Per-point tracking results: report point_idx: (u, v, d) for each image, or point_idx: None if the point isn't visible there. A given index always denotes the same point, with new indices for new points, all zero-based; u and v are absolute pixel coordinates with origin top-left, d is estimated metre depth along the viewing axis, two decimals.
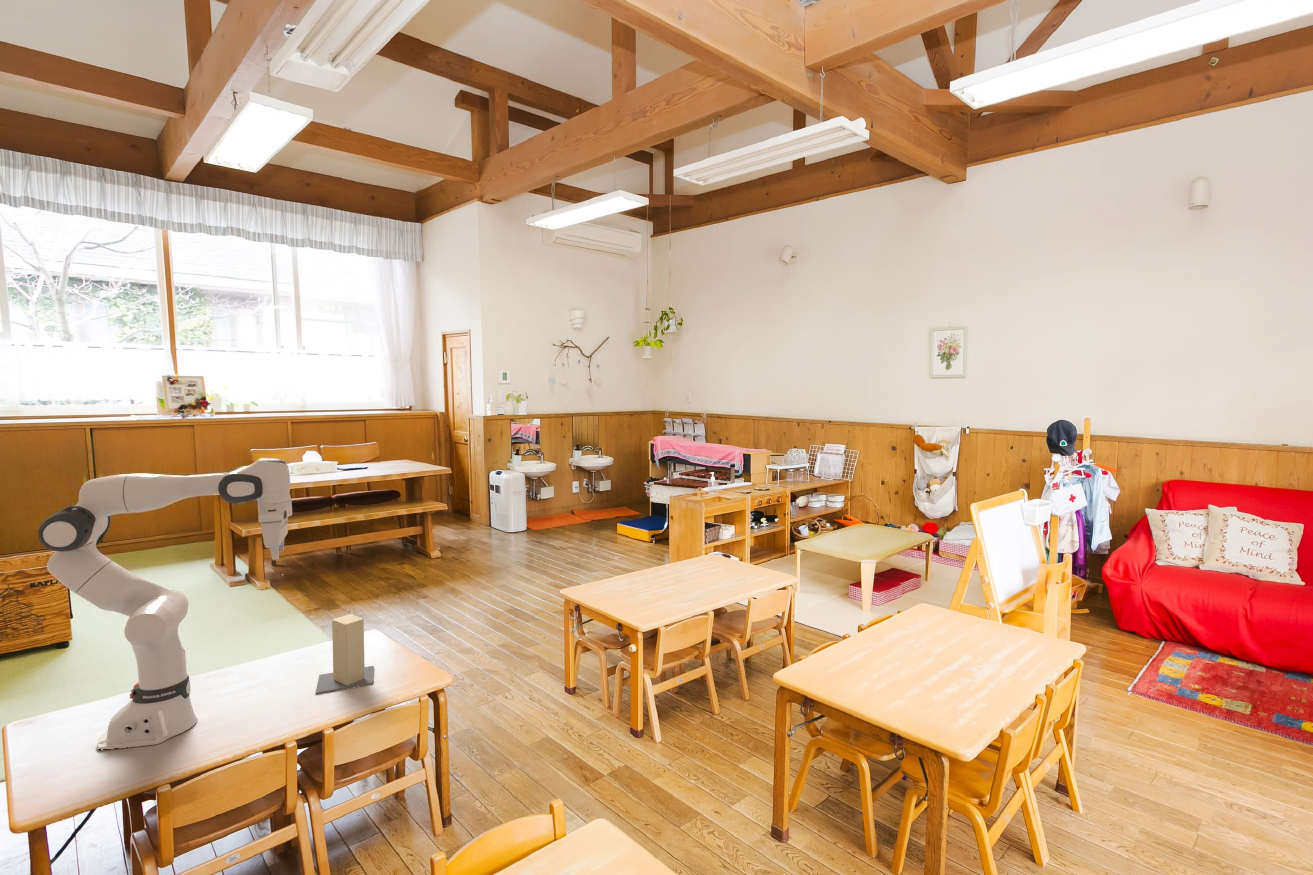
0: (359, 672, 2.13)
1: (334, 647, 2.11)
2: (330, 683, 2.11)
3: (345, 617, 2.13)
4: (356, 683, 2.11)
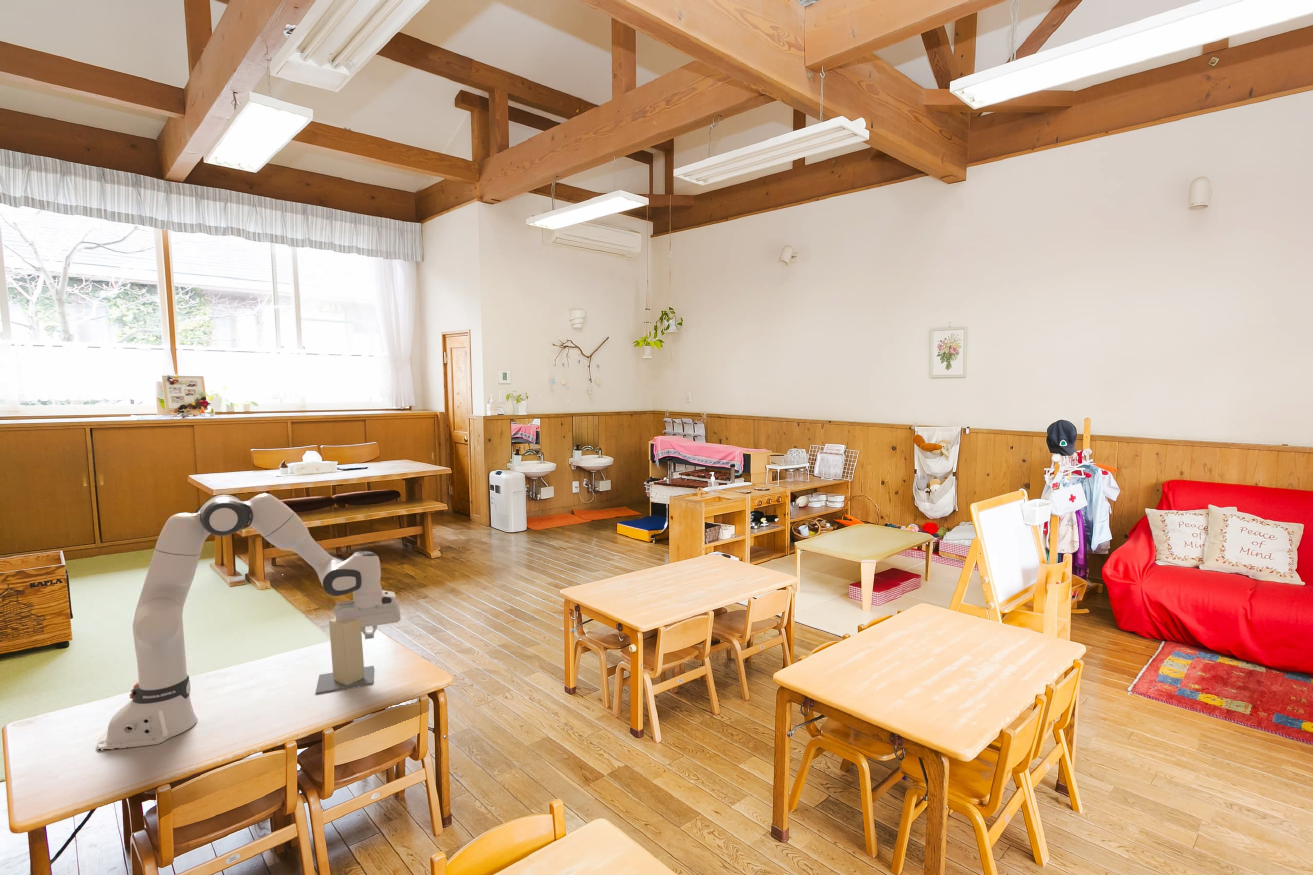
0: (358, 671, 2.13)
1: (332, 648, 2.11)
2: (330, 683, 2.11)
3: None
4: (356, 683, 2.11)
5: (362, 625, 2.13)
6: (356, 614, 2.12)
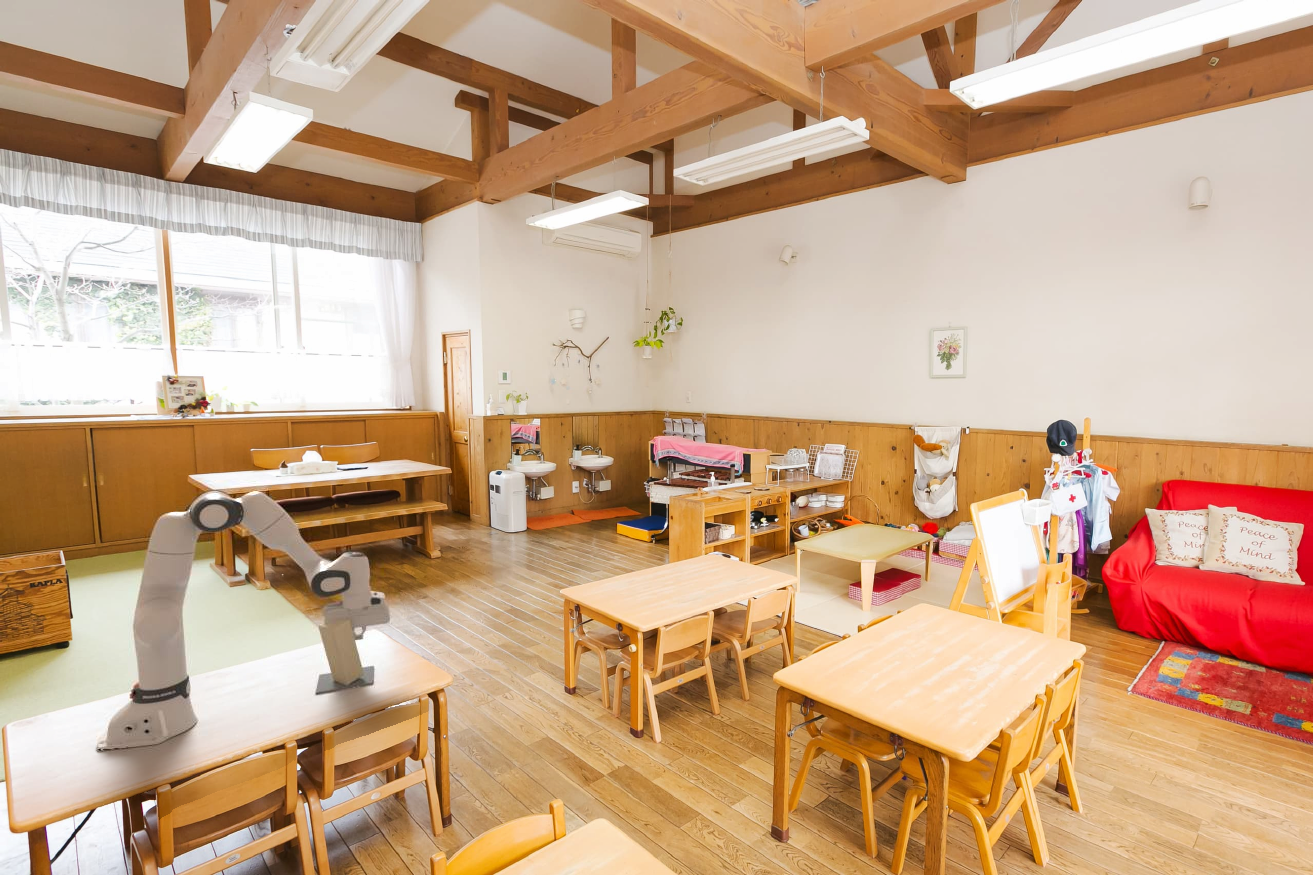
0: (357, 670, 2.12)
1: (326, 651, 2.10)
2: (330, 683, 2.11)
3: None
4: (356, 683, 2.11)
5: (351, 626, 2.11)
6: (345, 615, 2.11)
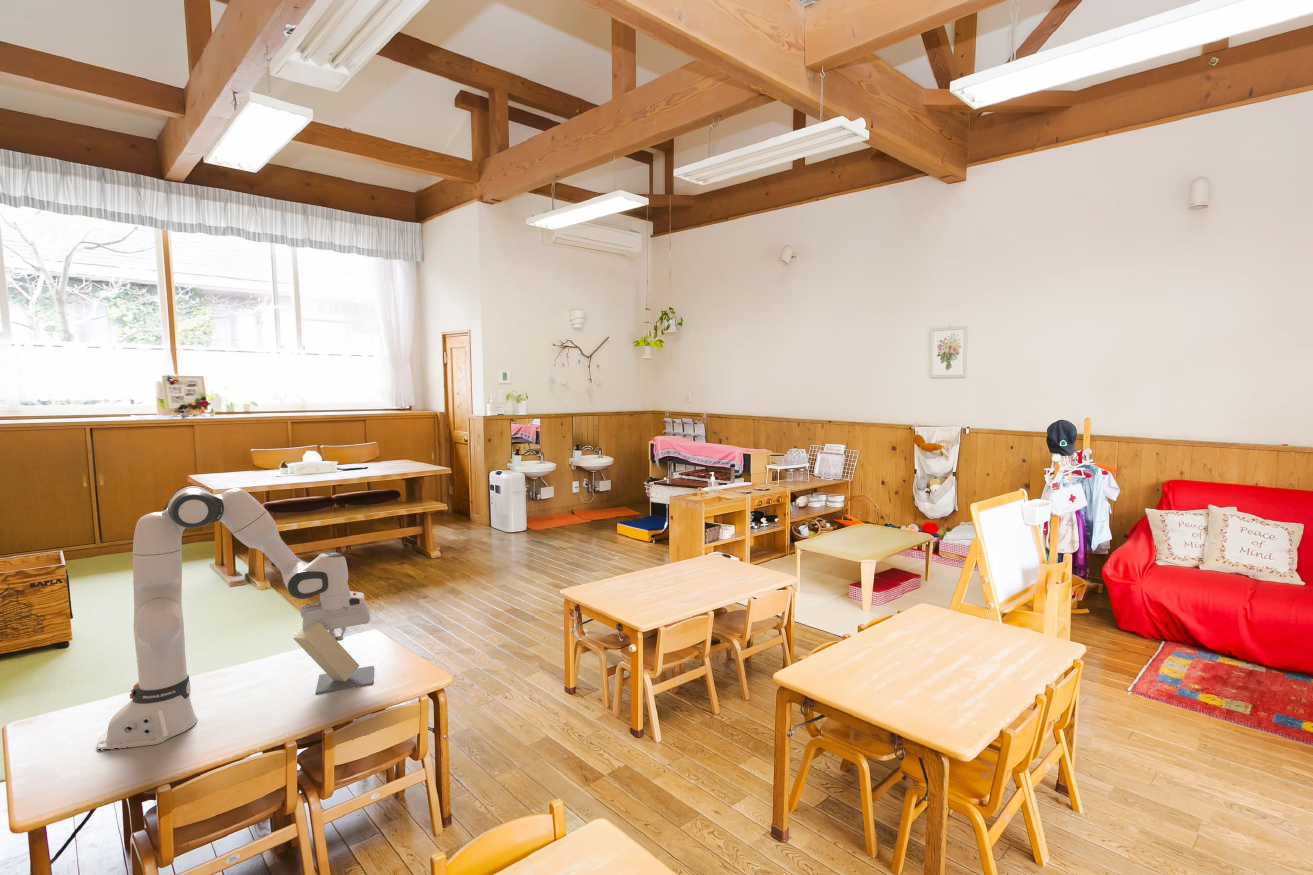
0: (350, 664, 2.11)
1: (312, 657, 2.08)
2: (330, 683, 2.11)
3: None
4: (356, 683, 2.11)
5: (330, 627, 2.09)
6: (324, 616, 2.08)
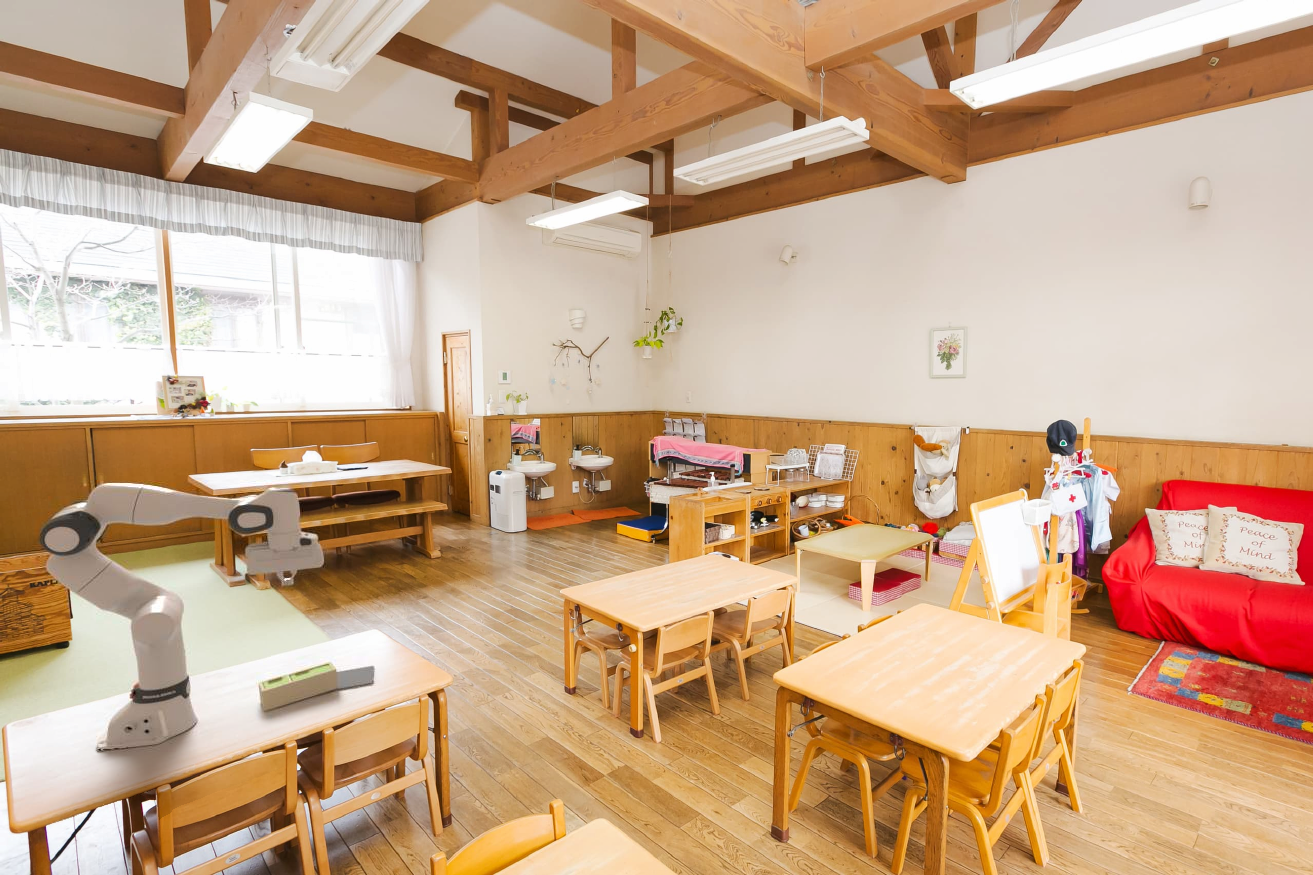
0: (327, 677, 2.05)
1: None
2: None
3: (260, 693, 1.98)
4: (356, 683, 2.11)
5: (278, 569, 1.90)
6: (271, 557, 1.90)
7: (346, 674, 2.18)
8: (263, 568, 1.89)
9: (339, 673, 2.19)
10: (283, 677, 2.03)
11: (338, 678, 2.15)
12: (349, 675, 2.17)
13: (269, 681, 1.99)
